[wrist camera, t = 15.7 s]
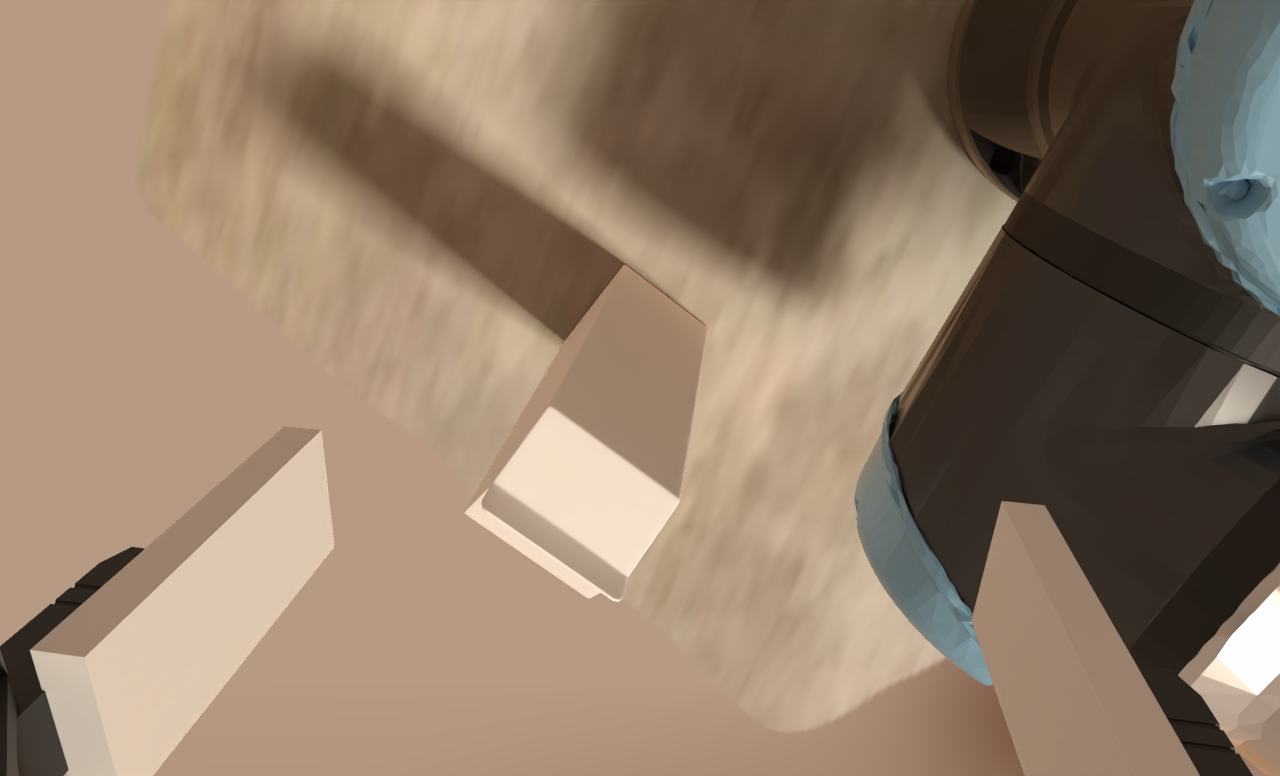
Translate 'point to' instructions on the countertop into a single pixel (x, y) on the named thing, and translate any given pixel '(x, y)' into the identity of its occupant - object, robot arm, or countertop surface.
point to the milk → (600, 441)
